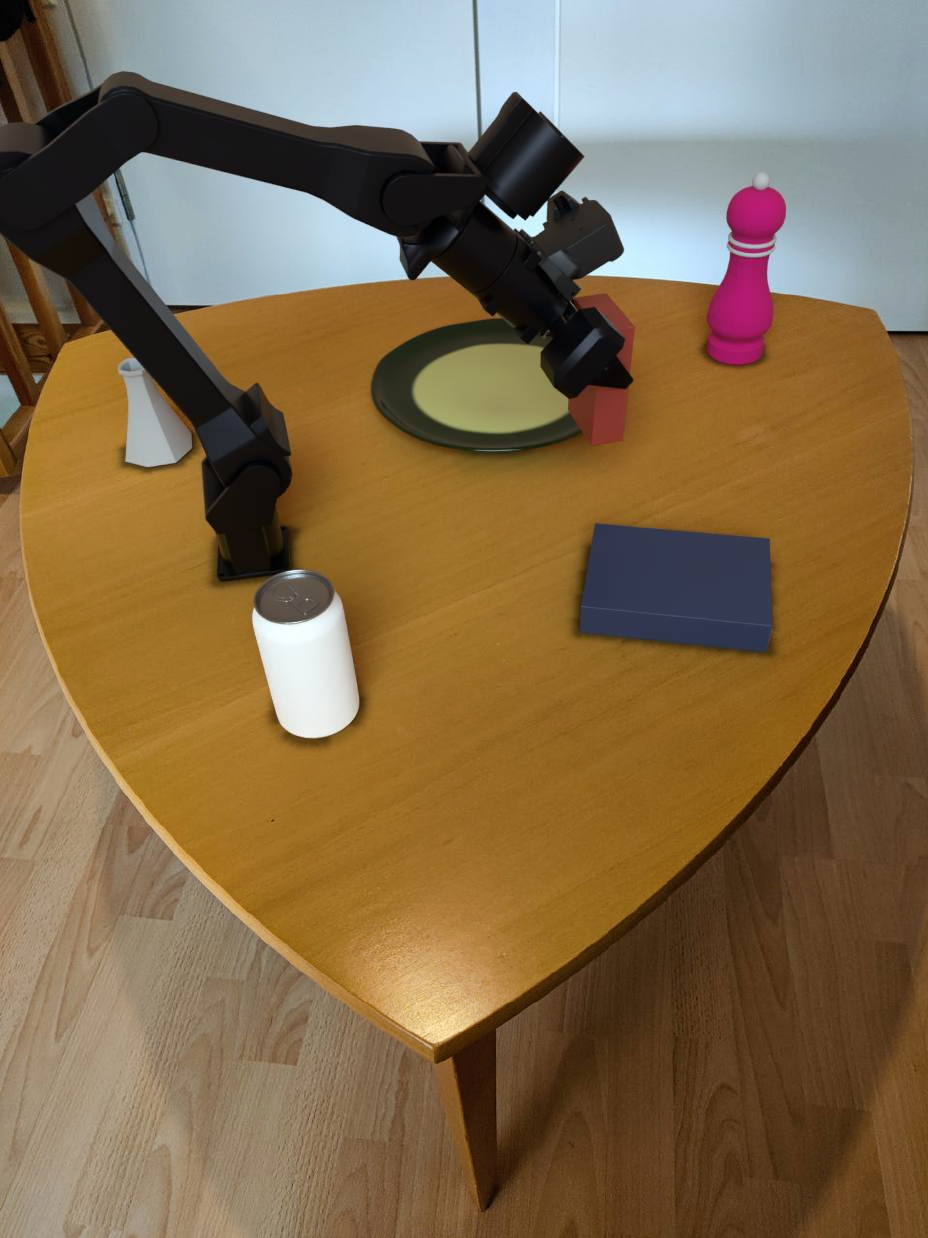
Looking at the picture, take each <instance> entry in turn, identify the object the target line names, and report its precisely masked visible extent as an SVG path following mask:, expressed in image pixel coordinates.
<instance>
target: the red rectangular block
mask: <svg viewBox="0 0 928 1238" xmlns="http://www.w3.org/2000/svg"><path fill="white" fill-rule="evenodd" d="M574 307H575V308H576V309H577V310H579V309H583V308H590V307H596V308H597V309H598V310H599V311H601V312H602V313H603V314H604V315H606V316H607V317H608V319H609V320H610V321H611V322H612V323H613V324H614V325H615V327H616V328H617V329H618V330H619V332H620V333H621V334H622V335H623V337H624V338H625V343H624V346H623V349H622V350H621V351H620V352H619V353H618V354H617V357H618V358H619V360H620V361H621V362H622V364H623V365H624V367H625V368H626V369H627V371H628V372H629V373H630V374H631V369H632V368H631V367H632V358H633V349H634V339H635V330H636V326H635V325H634V324H633V323H632V322H631V320H630V319H629V318H628V316H627V315H626V314H625V313H624V311H622V309H621V308H620V307H619V306H618V305H617V304H616V302H615V301H614V300H613V299H612V297H611V296H610V295H609V294H608V293H607V292H605V293H597V294H591V295H583V296H575V297H574ZM629 388H630V386H629V387H628V388H626V389H618V388H610V387H601V386H592V385H588V386H587V387H586V388H585V389H584V390H583V391H582V392H581V393H580V394H579V395H578V396H577V397H576V398H572V399H568V411H569V412H570V414H571V415H572V417H573V418H574V420H575V421H576V423H577V424H578V426H579V428H580V429H581V431H582V432H583V433H582V434H583V435H584V437H585V439H586V440H587V442H588V443H589V445H590V446H591V447H597V446H602V445H608V444H609V445H610V444H614V443H615V444H616V443H619V442H624V437H625V426H626V417H627V408H628V399H629V398H628V397H629Z"/></svg>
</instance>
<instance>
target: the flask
mask: <svg viewBox="0 0 928 1238" xmlns="http://www.w3.org/2000/svg"><path fill="white" fill-rule="evenodd" d="M117 366H118V367H117V372H118V374H119V375H120V376H121V377H122V378H123V380H124V381H123V382H124V384H125V387H126V394H127V404H128V410H127V428H126V439H125V440H126V443H125V462H126V463H129V464H133V465H138V466H141V467H146V468H151V467H157V466H163V465H170V464H176V463H177V462H178V461H180V460H181V459H182V458H183V457H184V456H185V455H186V454H187V453H189V452H190V451H191V450H192V449H193V435H192V432H191V431H190V429H189V428H188V427H187V425H186V424H185V423H184V422H183V421H182V420H181V418H180V417H179V416H178V415H177V413H176V412H175V411H174V410H173V408H172V407H171V405H170V404H169V402H168V401H167V400H166V399H165V397H164V396H163V394H162V393H161V392H160V390H159V388H158V385H157V383H156V382H155V380H154V379H153V378H152V377H151V376H150V375H149V374H148V372H147V371H146V370H145V369H144V368H143V367H142V365H141V364H140V363H139V362H138V361H137V360H136V359H135V357H134V356H133V357H127V358H125V359H124V360H122V361H121V362H119V364H118V365H117Z"/></svg>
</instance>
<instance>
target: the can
mask: <svg viewBox="0 0 928 1238" xmlns="http://www.w3.org/2000/svg"><path fill="white" fill-rule="evenodd" d="M344 609H345V608H344V605H343V602H342V599H341V597H340V595H339V594H338V593H337V591H336V589H335V587H334V584H333V582H332V580H330V579H329V578H328V577H327V576H326V575H324V574H323V573H321V572H319V571H316V570H311V569H303V568H302V569H301V568H299V569H297V568H296V569H290V570H289V571H285V572H281V573H279V574H276V575H271V577H268V578H267V579H266V580H264V581H263V582H262V583H261V584H260V585H259V587H258V588H257V589H256V591H255V593H254V596H253V610H252V615H251V620H252V621H251V622H252V626H253V631H254V635H255V638H256V643H257V647H258V650H259V654H260V658H261V662H262V666H263V670H264V674H265V677H266V681H267V685H268V688H269V692H270V696H271V699H272V703H273V707H274V710H275V714H276V716H277V720H278V723H279V724H280V725H281V726H282V727H283V729H285V730H286V731H287V732H288V733H290V734H292V735H293V736H297V737H300V738H305V739H323V738H327V737H331V736H333V735H336V734H337V733H339V732H341V731H342V730H343V729H345V728H347V726H349V725H350V724H351V722H352V721H353V720H354V719H355V718H356V715H357V714H358V711H359V708H360V696H359V688H358V683H357V682H358V681H357V675H356V671H355V670H356V669H355V665H354V660H353V659H354V658H353V653H352V647H351V642H350V636H349V631H348V624H347V621H346V620H347V619H346V614H345V610H344Z"/></svg>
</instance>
